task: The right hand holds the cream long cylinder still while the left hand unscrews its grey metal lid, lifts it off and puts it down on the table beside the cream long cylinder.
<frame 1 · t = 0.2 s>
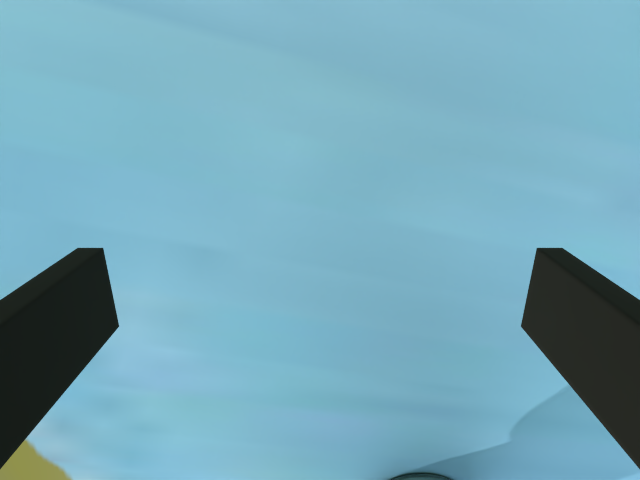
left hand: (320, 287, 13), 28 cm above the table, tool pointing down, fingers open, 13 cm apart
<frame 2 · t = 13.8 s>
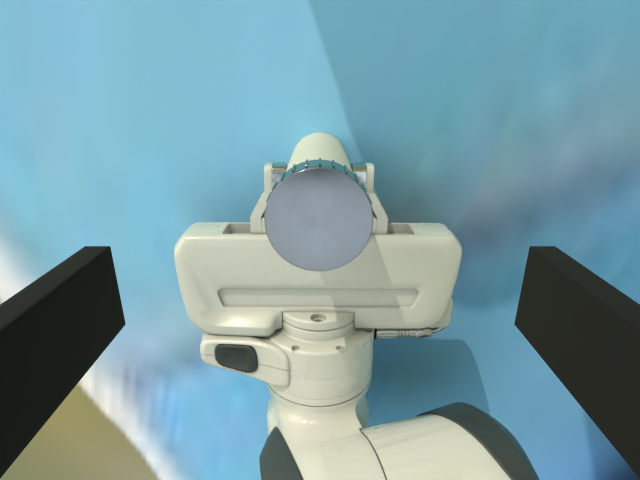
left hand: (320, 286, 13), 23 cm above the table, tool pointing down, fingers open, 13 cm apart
right hand: (318, 163, 28), fingers closed on cream long cylinder, 4 cm apart
lid: (318, 219, 19), point 16 cm above the table, screwed on, not yet turned
cream long cylinder: (319, 160, 34), on the table, touching right hand
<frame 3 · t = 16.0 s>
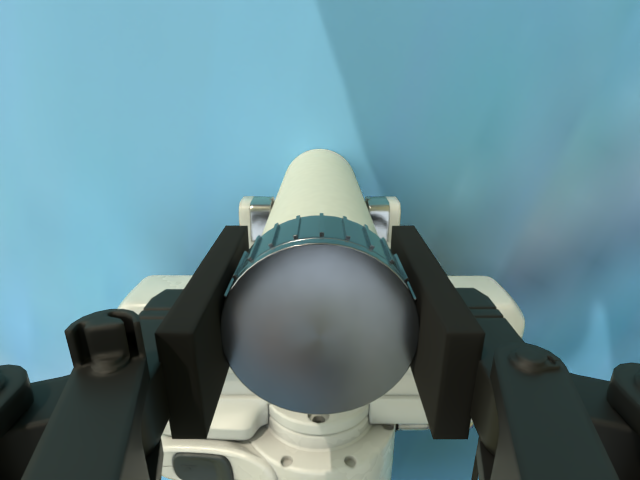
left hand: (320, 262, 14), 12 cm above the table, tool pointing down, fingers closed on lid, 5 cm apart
lid: (319, 328, 11), point 16 cm above the table, screwed on, not yet turned, touching left hand
cream long cylinder: (319, 185, 26), on the table, touching right hand
when the left hand's fingers open (0 cm above the table, at t = 24.7 s): lid drops 2 cm, point 2 cm above the table.
when the right hand's fingers open (7 cm above the table, at t = 26.4 s): cream long cylinder stays where it is, on the table.
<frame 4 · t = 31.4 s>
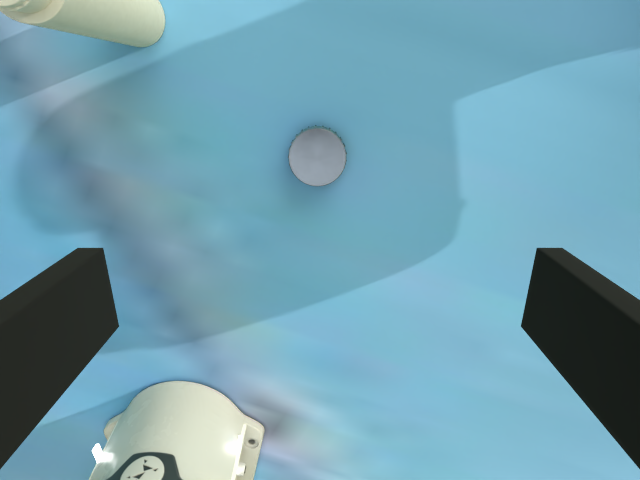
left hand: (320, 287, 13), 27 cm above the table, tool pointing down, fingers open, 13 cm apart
lid: (317, 157, 36), point 2 cm above the table, off its thread
cream long cylinder: (137, 17, 34), on the table
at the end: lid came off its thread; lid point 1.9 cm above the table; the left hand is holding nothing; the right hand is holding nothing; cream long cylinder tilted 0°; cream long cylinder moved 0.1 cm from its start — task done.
